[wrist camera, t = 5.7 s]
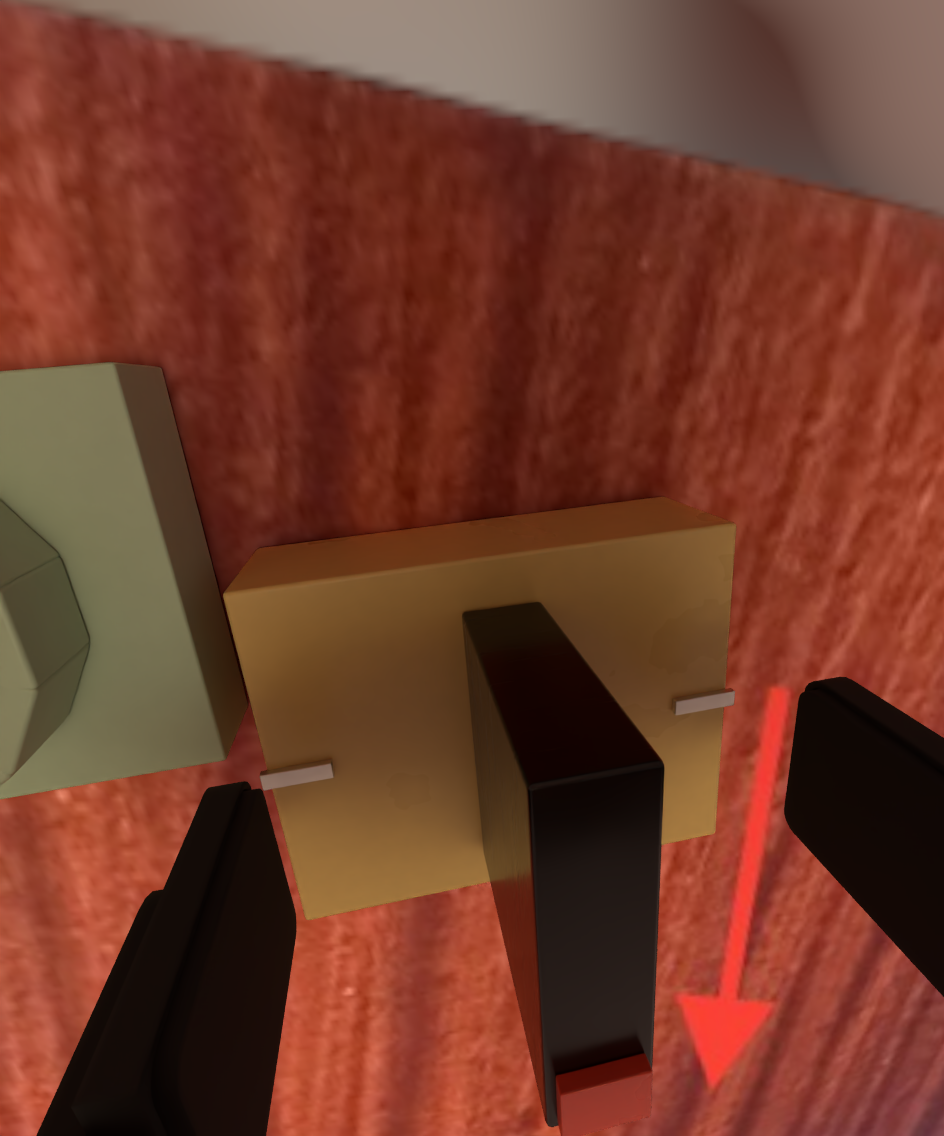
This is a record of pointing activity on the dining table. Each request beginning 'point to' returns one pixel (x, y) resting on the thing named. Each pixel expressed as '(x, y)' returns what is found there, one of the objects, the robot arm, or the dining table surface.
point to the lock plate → (439, 677)
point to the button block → (104, 586)
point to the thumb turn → (569, 862)
